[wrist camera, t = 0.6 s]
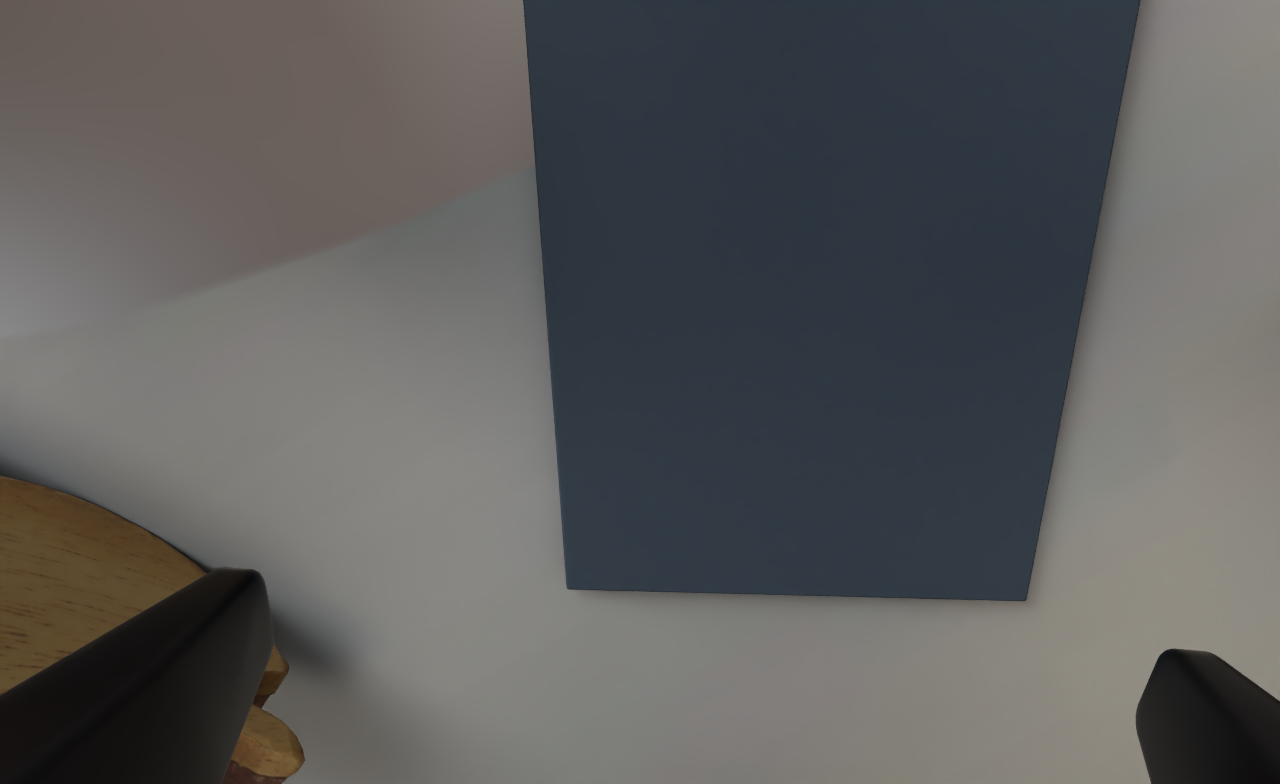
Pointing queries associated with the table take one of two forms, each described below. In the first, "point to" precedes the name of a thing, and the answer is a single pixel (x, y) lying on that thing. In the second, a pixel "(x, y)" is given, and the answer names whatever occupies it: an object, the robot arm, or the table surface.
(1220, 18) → the table surface
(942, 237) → the mat
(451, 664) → the table surface
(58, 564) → the wooden carving
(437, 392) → the table surface
